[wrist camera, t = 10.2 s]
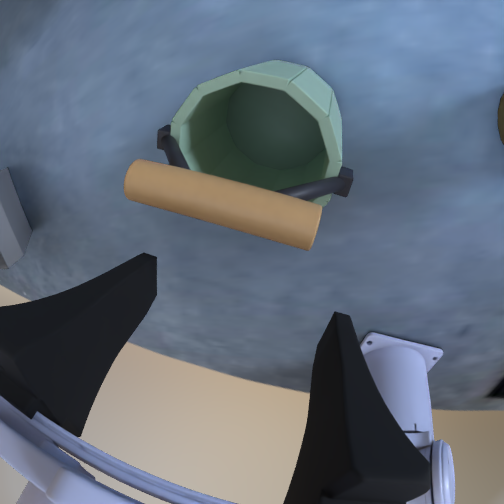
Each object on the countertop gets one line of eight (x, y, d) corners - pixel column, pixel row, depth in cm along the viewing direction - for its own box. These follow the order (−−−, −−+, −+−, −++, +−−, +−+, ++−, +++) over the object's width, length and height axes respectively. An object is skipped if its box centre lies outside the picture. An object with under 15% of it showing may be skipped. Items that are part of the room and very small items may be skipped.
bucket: (332, 187, 19) (315, 328, 11) (207, 154, 20) (106, 260, 12) (364, 82, 15) (399, 139, 6) (221, 50, 16) (90, 78, 7)
